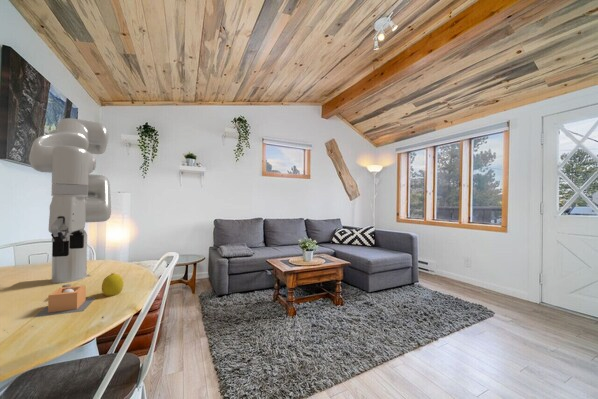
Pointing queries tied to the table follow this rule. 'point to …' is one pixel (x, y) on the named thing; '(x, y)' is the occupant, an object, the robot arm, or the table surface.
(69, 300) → the collar
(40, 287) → the table surface
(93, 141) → the robot arm
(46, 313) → the plate
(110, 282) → the lemon
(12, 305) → the table surface
